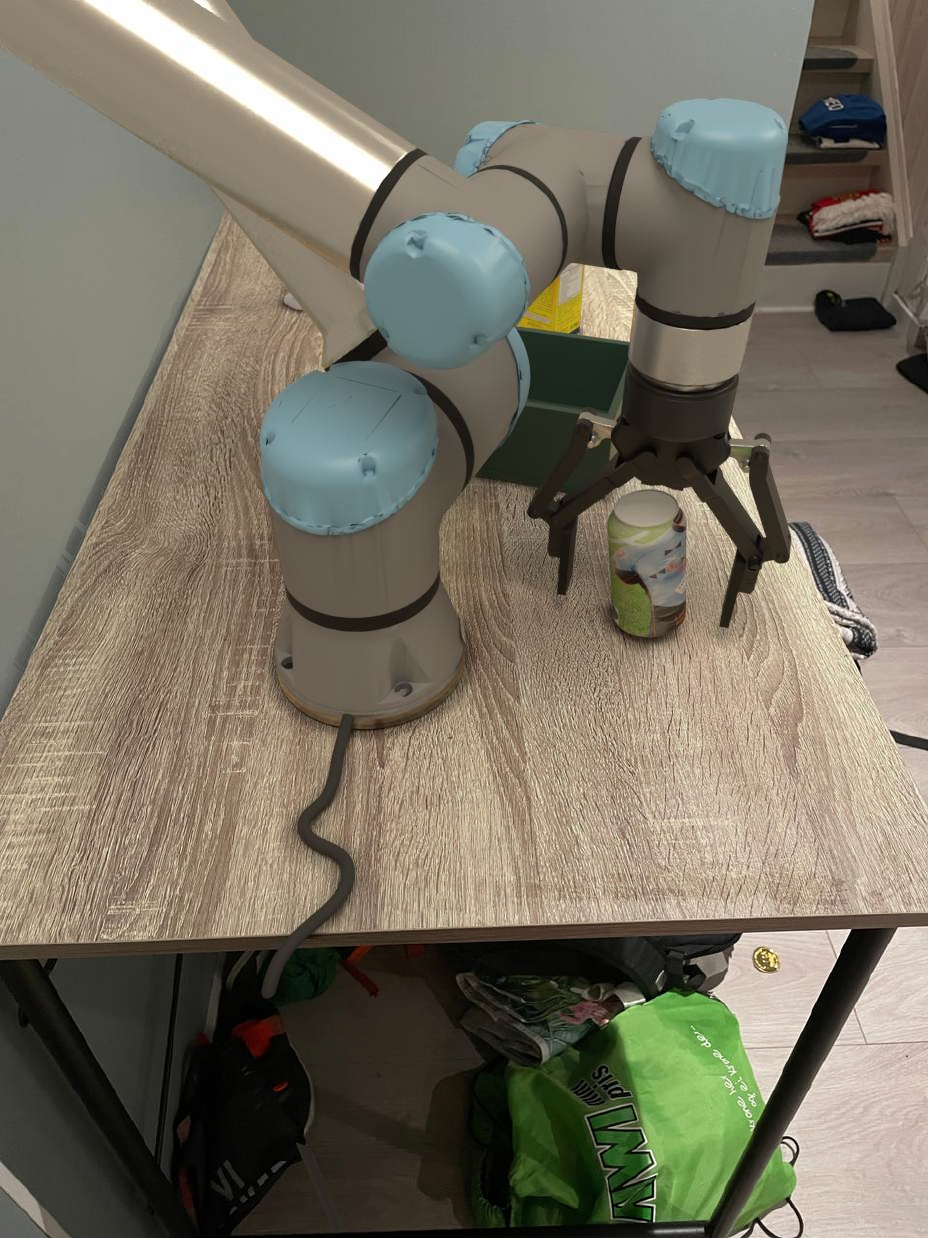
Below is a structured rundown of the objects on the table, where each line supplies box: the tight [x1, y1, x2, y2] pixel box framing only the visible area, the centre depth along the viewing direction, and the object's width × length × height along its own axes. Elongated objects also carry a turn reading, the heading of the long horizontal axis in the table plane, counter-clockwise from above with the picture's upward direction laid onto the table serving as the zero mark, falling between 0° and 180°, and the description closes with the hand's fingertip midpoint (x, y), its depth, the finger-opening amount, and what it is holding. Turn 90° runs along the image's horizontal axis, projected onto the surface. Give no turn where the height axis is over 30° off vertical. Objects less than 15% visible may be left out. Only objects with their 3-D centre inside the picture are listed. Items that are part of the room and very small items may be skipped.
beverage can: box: [606, 488, 688, 638], centre depth 73 cm, size 6×7×12 cm
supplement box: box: [517, 263, 586, 334], centre depth 112 cm, size 6×6×11 cm
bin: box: [474, 326, 630, 500], centre depth 94 cm, size 16×16×9 cm
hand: (643, 600), depth 76 cm, fingers open, 13 cm apart
